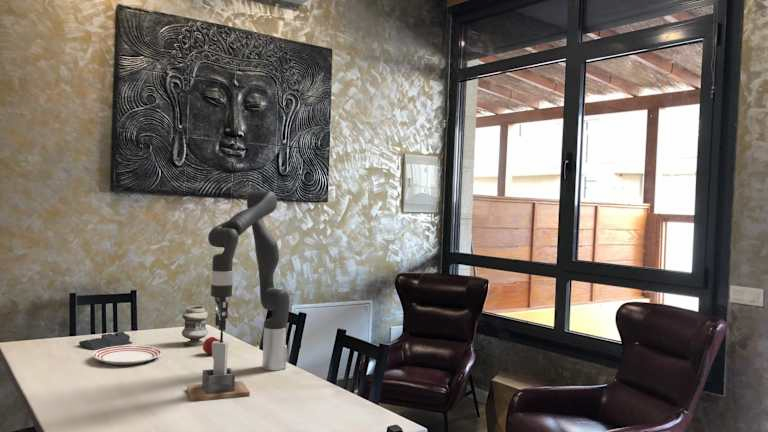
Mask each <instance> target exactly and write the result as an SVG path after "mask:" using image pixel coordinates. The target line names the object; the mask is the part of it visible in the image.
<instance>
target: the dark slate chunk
mask: <svg viewBox="0 0 768 432" xmlns="http://www.w3.org/2000/svg"><path fill="white" fill-rule="evenodd" d="M130 338H131V336H130V335H129V334H127V333H125V332H124V331H121V330H120V331H118V332H117V331H116V332H114V333H103V334H101V337H96V338H91V339H86V340H80V341H79V342H78V345H80V346H82V347H84V348H85V349H88V350H90V351H97V350H100V349H103V348H107V347H112V346H123V345H133V344H134V342H133V341H131V340H130Z"/></svg>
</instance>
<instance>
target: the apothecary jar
mask: <svg viewBox="0 0 768 432" xmlns="http://www.w3.org/2000/svg"><path fill="white" fill-rule="evenodd" d="M205 307H206V306H203V305H191V306H190V305H189V306H187V307H186V308H185V311H184V312H183V313H182V318H183V319H184V328H183V330H182V331H181V335H182V337H184V338H186V339H188V340H187V341H185V342H184V343H183V345H184V346H185V347H203V344H204V342H205V341H203V340H201V339H203V338H206V337H207V336H208V335H209V330H208V328H207V327H206V319H207V318H208V317H209V313H208V312H207V311H206V309H205Z"/></svg>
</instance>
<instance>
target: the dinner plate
mask: <svg viewBox="0 0 768 432" xmlns="http://www.w3.org/2000/svg"><path fill="white" fill-rule="evenodd" d="M162 354H163V352H162V350H161V349H159V348H157V347H153V346H147V345H136V344H135V345H134V344H127V345H122V346H112V347H107V348H103V349H99V350H94V352H93V353H92V357H93V358H94V359H96V360H98V361H100V362H103V363H107V364H109V365H115V366H129V365H130V366H131V365H137V364H143V363H146V362H148V361H151V360H154V359H156V358H158V357H160V356H162Z"/></svg>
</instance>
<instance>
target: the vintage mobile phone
mask: <svg viewBox="0 0 768 432" xmlns="http://www.w3.org/2000/svg"><path fill="white" fill-rule="evenodd" d="M223 335H224V330H221V331H220V337H219V338H220V339H219V340H220V341H214V342H213V343H212V355H211V358H212V359H213V367H212V369H213V375H224V374H227V368H228V353H229V351H228V349H229V347H228V346H229V342H228V341H224V336H223Z"/></svg>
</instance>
